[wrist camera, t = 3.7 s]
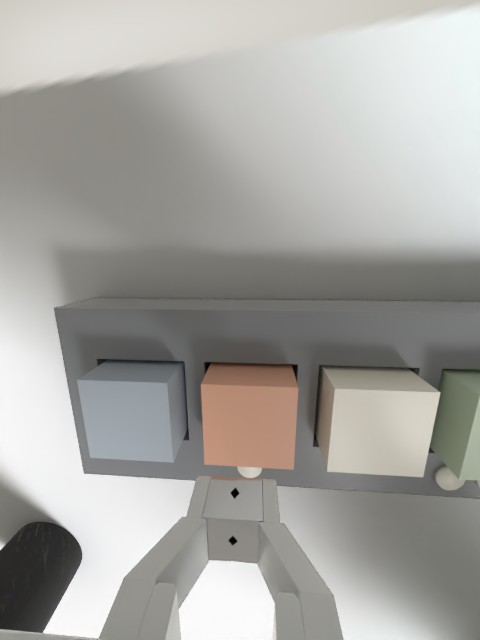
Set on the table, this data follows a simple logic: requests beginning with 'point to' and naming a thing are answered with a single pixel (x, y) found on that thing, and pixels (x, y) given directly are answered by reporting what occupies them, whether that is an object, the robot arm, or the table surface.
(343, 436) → the cream key
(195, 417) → the keypad
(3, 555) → the travel mug
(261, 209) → the table surface
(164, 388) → the slate key
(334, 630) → the robot arm
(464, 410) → the sage key
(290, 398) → the terracotta key
